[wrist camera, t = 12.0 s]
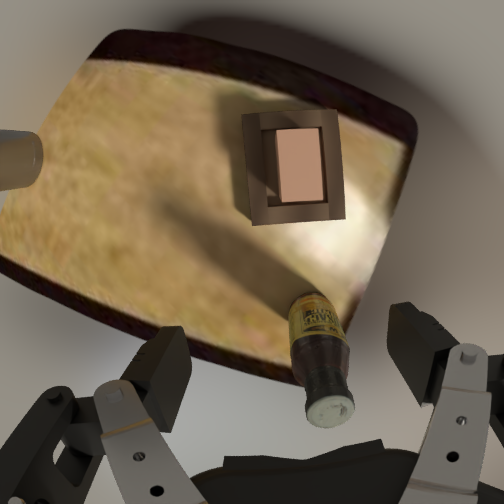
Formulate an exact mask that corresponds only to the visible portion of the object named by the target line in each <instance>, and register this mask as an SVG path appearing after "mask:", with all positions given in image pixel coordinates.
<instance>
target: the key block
mask: <svg viewBox="0 0 504 504" xmlns="http://www.w3.org/2000/svg"><path fill="white" fill-rule="evenodd" d="M275 149H276V161H277V174H278V188H279V197H280V199H281V201H282V202H294V201H312V200H323V188H322V171H321V157H320V144H319V133H318V128H317V129H288V130H276V135H275Z"/></svg>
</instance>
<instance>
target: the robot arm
mask: <svg viewBox="0 0 504 504" xmlns="http://www.w3.org/2000/svg"><path fill="white" fill-rule="evenodd" d="M42 161H43V149H42V144H41V141H40V139H39V137H38V136H37V135H36V134H34V133H33V132H26V131H14V130H0V191H5V190H12V189H18V188H25V187H28V186H30V185H31V184H33V183H34V181H35V180H36V179H37V177H38V175H39V173H40V170H41V167H42ZM387 349H388V352H389V355H390V356H391V358H392V359H393V361H394V363H395V365H396V366H397V368H398V369H399V371H400V373H401V374H402V376H403V378H404V379H405V381H406V383H407V385H408V386H409V388H410V390H411V391H412V393H413V395H414V396H415V398H416V400H417V402H418V404H419V405H420V407H424V406H428V405H430V404H433V406H434V409H433V412H432V415H431V418H430V422H429V425H428V427H427V430H426V433H425V436H424V438H423V441H422V444H421V446H420V449H419V451H418V453H415V452H411V451H407V450H401V449H385V448H384V446H383V443H382V440H381V439H377V440H373V441H368V442H364V443H359V444H354V445H349V446H344V447H341V448H338V449H336V450H333V451H330V452H327V453H325V454H322V455H319V456H316V457H313V458H310V459H306V460H298V459H289V458H280V457H272V456H264V455H260V456H224V462H223V467H219V468H214V469H211V470H207V471H205V472H202V473H199V474H197V475H195V476H193V477H191V478H189V477H188V476H187V474H186V473H185V471H184V470H183V468H182V467H181V465H180V464H179V462H178V461H177V459H176V458H175V456H174V454H173V453H172V451H171V450H170V448H169V447H168V445H167V443H166V442H165V440H164V438H163V437H162V435H161V433H160V432H165V433H171V431H172V428H173V425H174V422H175V419H176V416H177V414H178V411H179V408H180V405H181V402H182V399H183V396H184V393H185V390H186V388H187V385H188V382H189V379H190V376H191V372H192V362H191V357H190V353H189V349H188V345H187V341H186V337H185V333H184V330H183V328H182V326H163V327H162V328H161V329H160V331H159V332H158V334H157V335H156V337H155V339H150V340H149V341H147V342H146V343H145V344H143V345H142V346H141V347H140V349H139V350H138V352H137V355H135V356H134V358H133V359H132V361H131V362H130V364H129V365H128V367H127V368H126V370H125V371H124V373H123V374H122V376H121V377H120V379H119V380H112V381H109V382H106V383H104V384H102V385H101V386H99V387H98V388H97V389H96V391H95V393H94V396H92V397H82V398H75V396H74V394H73V392H72V390H71V389H70V388H69V387H66V386H56V387H52V388H50V389H48V390H46V391H45V392H44V393H42V395H41V396H40V397H39V398H38V399H37V401H36V402H35V403H34V405H33V406H32V407H31V409H30V410H29V411H28V412H27V414H26V415H25V416H24V418H23V419H22V420H21V422H20V423H19V424H18V426H17V427H16V428H15V430H14V431H13V433H12V434H11V435H10V437H9V438H8V440H7V441H6V442H5V444H4V445H3V446H2V448H1V449H0V504H84V501H85V499H86V496H87V494H88V491H89V489H90V487H91V484H92V481H93V479H94V477H95V474H96V472H97V470H98V467H99V465H100V463H101V460H102V458H103V456H104V455H107V458H108V461H109V464H110V467H111V469H112V472H113V475H114V477H115V480H116V482H117V485H118V487H119V490H120V492H121V494H122V497H123V499H124V501H125V504H504V491H503V490H500V489H498V488H495V487H493V486H490V485H487V484H485V483H482V482H480V481H479V477H480V473H481V468H482V463H483V458H484V453H485V447H486V441H487V435H488V427H489V424H490V426H491V427H492V429H493V431H494V432H495V434H496V435H497V437H498V439H499V441H500V442H501V444H502V446H503V447H504V354H502V355H491V356H488V355H487V353H486V351H485V350H484V349H482V348H481V347H479V346H477V345H474V344H467V343H466V344H460V343H459V342H458V341H457V340H456V339H455V338H454V337H453V336H452V335H451V334H450V333H449V332H448V331H447V330H446V329H444V327H443V326H442V325H441V324H439V322H438V321H437V320H436V319H435V318H434V317H433V316H431V315H429V314H427V313H425V312H422V311H421V312H420V311H419V310H418V309H417V308H416V307H415V306H414V305H413V304H412V303H411V302H404V303H398V304H392V305H391V306H390V310H389V321H388V333H387ZM60 439H61V440H62V442H63V443H64V445H65V448H64V449H63V451H62V453H61V455H60V457H59V458H58V460H57V462H56V464H54V462H53V452H54V450H55V448H56V446H57V444H58V443H59V441H60Z"/></svg>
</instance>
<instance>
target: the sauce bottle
mask: <svg viewBox="0 0 504 504" xmlns="http://www.w3.org/2000/svg"><path fill="white" fill-rule="evenodd" d="M288 320H289V338H290V356H291V360H292V361H291V362H292V371H293V374H294V378H295V379H296V380H297V381H298V382H299V383H300V384H301V385H302V386H304V387H305V391H306V396H307V400H306V404H305V412H306V417H307V420H308V421H309V422H310V423H311V424H312V425H314V426H316V427H320V428H333V427H336V426H339V425H341V424H343V423H345V422H346V421H348V420H349V419H350V418H351V416H352V415H353V413H354V410H355V404H354V400H353V395H352V394H351V392H350V391H349V390H348V386H347V383H346V379H347V376H348V367H349V353H350V349H349V346H348V343H347V340H346V337H345V334H344V332H343V329H342V326H341V324H340V321H339V319H338V316H337V313H336V311H335V308H334V306H333V305H332V303H331V302H330V301H329V300H328V299H327V298H326V297H325V296H323V295H321V294H318V293H308V294H303V295H301V296H300V297H299V298H297V299H296V300H295V301H294V302H293V303H292V305H291V308H290V311H289V315H288Z"/></svg>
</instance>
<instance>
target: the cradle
mask: <svg viewBox="0 0 504 504" xmlns="http://www.w3.org/2000/svg"><path fill="white" fill-rule="evenodd" d="M242 125H243V135H244V146H245V156H246V167H247V178H248V188H249V199H250V209H251V220H252V226H258V225H271V224H283V223H297V222H311V221H326V220H341V219H346V218H345V196H344V179H343V165H342V153H341V142H340V132H339V123H338V115H337V110H296V111H278V112H265V113H253V114H243V115H242ZM317 128H318V133H319V144H320V157H321V171H322V188H323V200H312V201H294V202H282V201H281V199H280V197H279V188H278V174H277V161H276V149H275V135H276V130H288V129H317Z"/></svg>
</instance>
